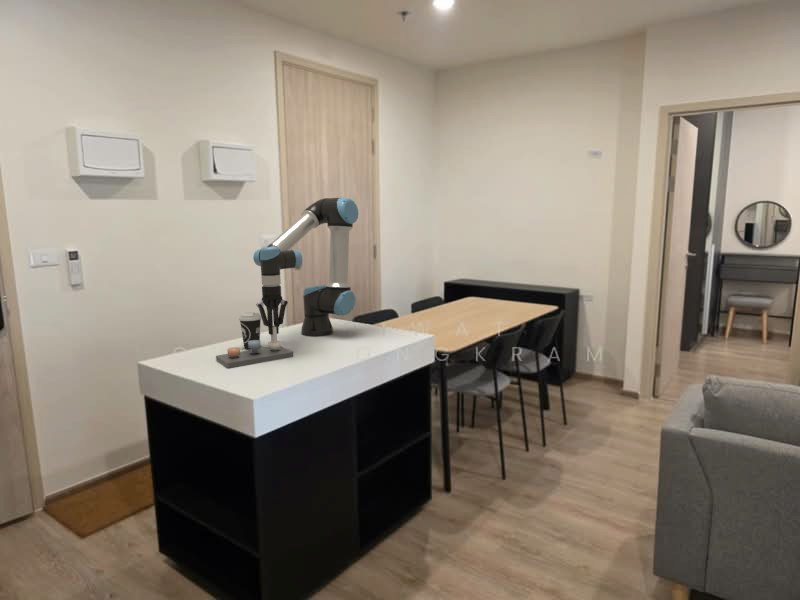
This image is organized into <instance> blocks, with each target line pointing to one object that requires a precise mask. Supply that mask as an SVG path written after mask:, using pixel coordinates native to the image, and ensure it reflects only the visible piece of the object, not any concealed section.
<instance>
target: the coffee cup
mask: <svg viewBox="0 0 800 600" xmlns="http://www.w3.org/2000/svg"><path fill="white" fill-rule="evenodd" d="M261 320H262V317H261V314H260V312H256V311H255V312H243V313H240V315H239V318H238V321H239V323H240V330H241V335H242V337H241V338H242V341H243V342H242V343H243V348H244V350H247V351H248V350H252V349H251V348H248V341H250V340H260V341H261Z"/></svg>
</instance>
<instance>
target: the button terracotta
mask: <svg viewBox="0 0 800 600" xmlns="http://www.w3.org/2000/svg"><path fill="white" fill-rule="evenodd" d="M226 351H227V354H228V356H231V359H234V358H237V356H239V355H240V352H241V348H240V347H238V346H237V347H229V348H227V350H226Z"/></svg>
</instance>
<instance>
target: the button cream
mask: <svg viewBox="0 0 800 600" xmlns="http://www.w3.org/2000/svg"><path fill="white" fill-rule="evenodd" d="M280 346H281V341H279V340H277V342H276V343H273V342H271V341H269V342H268V345H267V347H269V349H271V350H272V352H275V351H278V349H280Z"/></svg>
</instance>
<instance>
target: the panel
mask: <svg viewBox="0 0 800 600" xmlns="http://www.w3.org/2000/svg"><path fill="white" fill-rule="evenodd" d="M287 358H294V351H293V350H290V349H287V348H286V347H283V346H281V345H280V349H278V351H275V352H272V350H271V349H269V347H268V346H267V347H260V348H258V352H252V350H248V349H247V350H244V351H243V350H240V355H239V356H237V358H234V359H231V356H228V353H223V354H217V355H215V361H216V362H218V363H219V364H221V365H223V366H224V368H226V369H231V368H238V367H244V366H249V365H255V364H261V363H265V362H272V361H276V360H282V359H287Z"/></svg>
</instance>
